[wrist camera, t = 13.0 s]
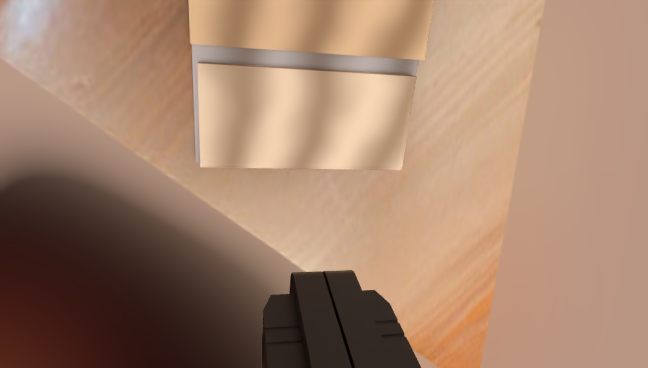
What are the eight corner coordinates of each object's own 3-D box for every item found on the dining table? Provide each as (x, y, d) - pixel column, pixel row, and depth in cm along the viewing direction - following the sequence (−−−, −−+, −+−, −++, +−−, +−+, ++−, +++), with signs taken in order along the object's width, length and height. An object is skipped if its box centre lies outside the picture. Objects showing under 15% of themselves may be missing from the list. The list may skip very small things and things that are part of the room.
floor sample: (197, 158, 38) (194, 168, 36) (189, -72, 31) (185, -77, 29) (396, 162, 42) (405, 171, 40) (429, -43, 35) (442, -45, 33)
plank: (201, 162, 37) (200, 167, 36) (198, 61, 34) (197, 63, 33) (397, 165, 40) (401, 170, 39) (411, 74, 37) (416, 76, 36)
